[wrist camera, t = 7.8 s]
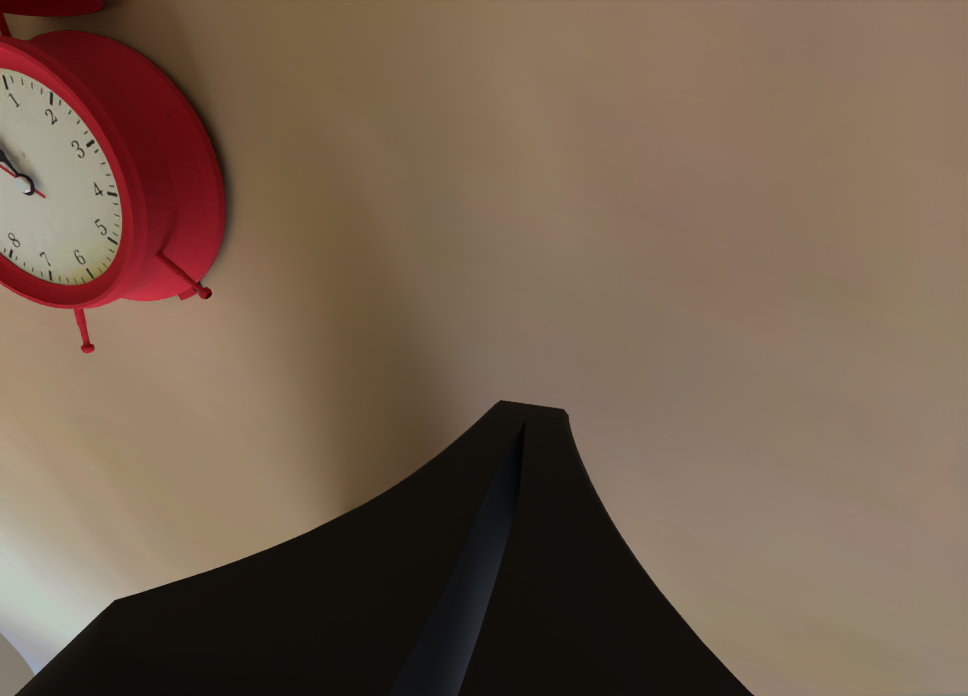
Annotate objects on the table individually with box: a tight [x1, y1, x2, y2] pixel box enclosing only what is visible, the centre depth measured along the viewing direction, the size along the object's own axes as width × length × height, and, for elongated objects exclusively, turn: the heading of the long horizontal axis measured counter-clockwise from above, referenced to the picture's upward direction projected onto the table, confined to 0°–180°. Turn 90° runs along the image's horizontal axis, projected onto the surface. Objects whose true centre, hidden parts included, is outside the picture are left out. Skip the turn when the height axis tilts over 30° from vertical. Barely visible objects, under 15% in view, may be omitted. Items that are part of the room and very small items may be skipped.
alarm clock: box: [0, 0, 226, 353], centre depth 19 cm, size 10×6×15 cm
